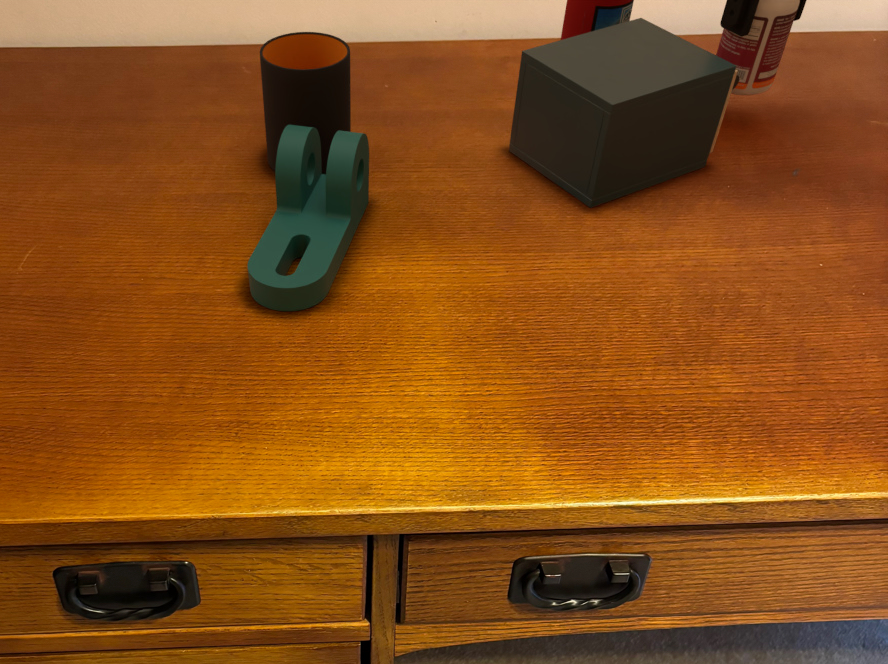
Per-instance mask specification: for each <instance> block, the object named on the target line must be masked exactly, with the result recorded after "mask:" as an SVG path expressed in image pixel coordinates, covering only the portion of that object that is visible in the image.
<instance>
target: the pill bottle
mask: <svg viewBox="0 0 888 664" xmlns="http://www.w3.org/2000/svg"><path fill="white" fill-rule="evenodd" d="M799 3H800V0H759V3H758V6H757V10H756V13H755V16H754V19H753V22H752V25H751V29H750V32H749V34H748V35H746V36H742V37H741V36H739V35H737V34H735V33H733V32H731V31H729V30H727V29H724V28H722V29H723V30H722V33H721V36H720V40H719V42H718V43H719V44H718V47H717V51H716V54H715V55H716V56H718V57H720V58H722V59H724V60H726V61H728V62H730V63H732V64H734V65H736V66H737V67H736V70H738V72H737V75H738V76H739V82H738V84H737V86H736V87H735V88H734V89H733V90H732V92H731V95H736V96H755V95H760V94H763V93H765V92H767V91H768V90H770V89H771V87H772V86H773V84H774V81H775V80H776V79H775V78H776V75H777V72H778V69H779V66H780V65H781V64H780V63H781V61H782V57H783V55H784V51H785V48H786V45H787V43H788V39H789V36H790V33H791V30H792V27H793V24H794V22H795V21H794V18H795V15H796V12H797V9H798V6H799Z"/></svg>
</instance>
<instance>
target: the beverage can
mask: <svg viewBox="0 0 888 664" xmlns="http://www.w3.org/2000/svg"><path fill="white" fill-rule="evenodd" d="M634 2H635V0H566V4H565V10H564V16H563V22H562V29H561V35H560V40H563V39H567V38H570V37H574V36H577V35H581V34H585V33H588V32H592V31H595V30H599V29H603V28H606V27H610V26H613V25H617V24H621V23H624V22H628V21H631V20H630V19H631V16H632V11H633V7H634Z"/></svg>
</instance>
